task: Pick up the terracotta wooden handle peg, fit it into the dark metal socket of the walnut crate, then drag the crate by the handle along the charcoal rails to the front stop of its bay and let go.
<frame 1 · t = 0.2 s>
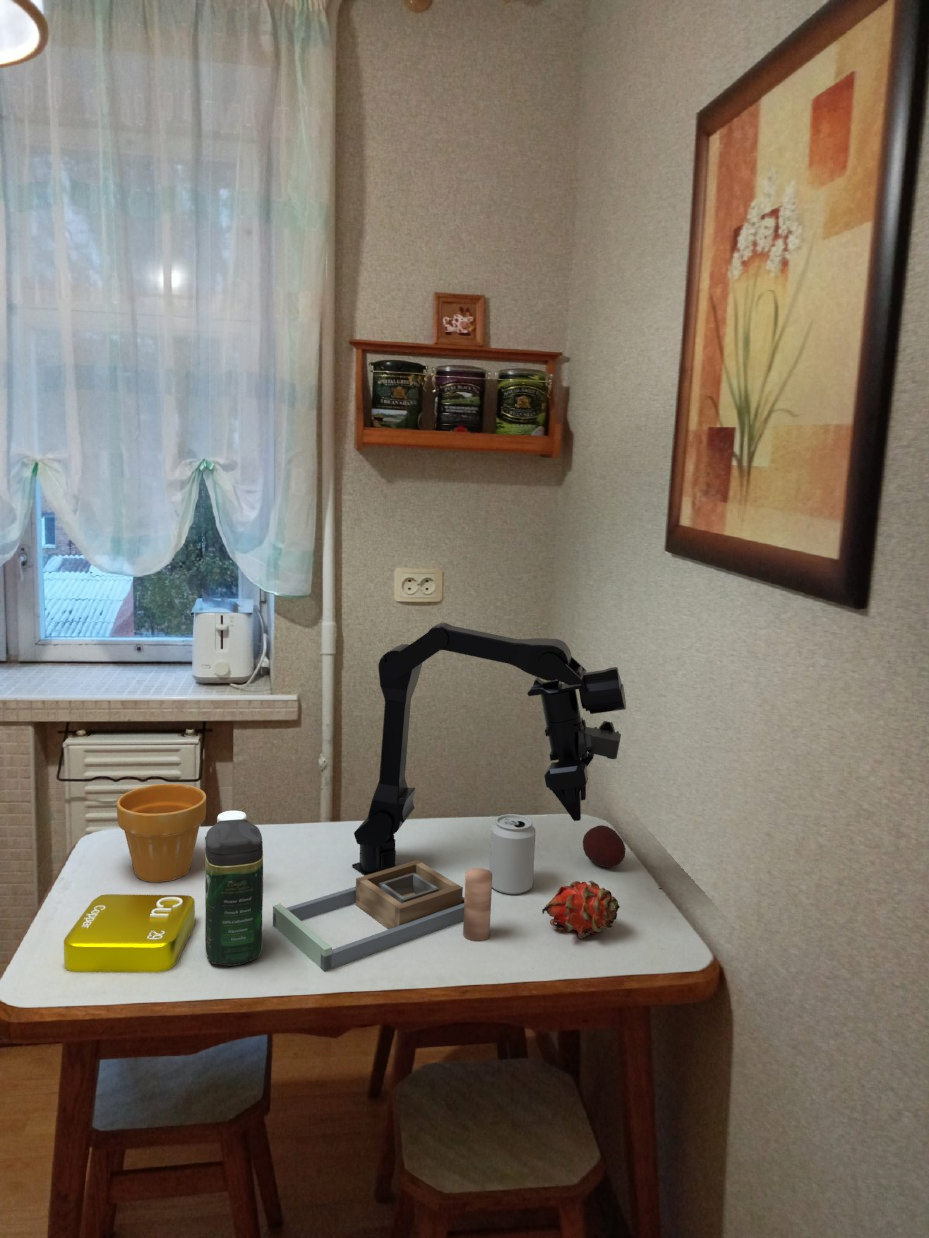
hand: (580, 809, 145), 15 cm above the table, tool pointing down, fingers open, 9 cm apart
dragon fruit: (579, 932, 137), on the table
handle peg: (476, 936, 134), on the table
element tile: (132, 947, 128), on the table
crate: (408, 896, 140), point 3 cm above the table, slide at 0.0 cm
can: (510, 888, 150), on the table
passion fruit: (603, 865, 161), on the table
bay: (374, 922, 137), on the table
green labelled bottle: (234, 951, 128), on the table
flower pot: (163, 872, 151), on the table
sprinkles bottle: (232, 894, 144), on the table
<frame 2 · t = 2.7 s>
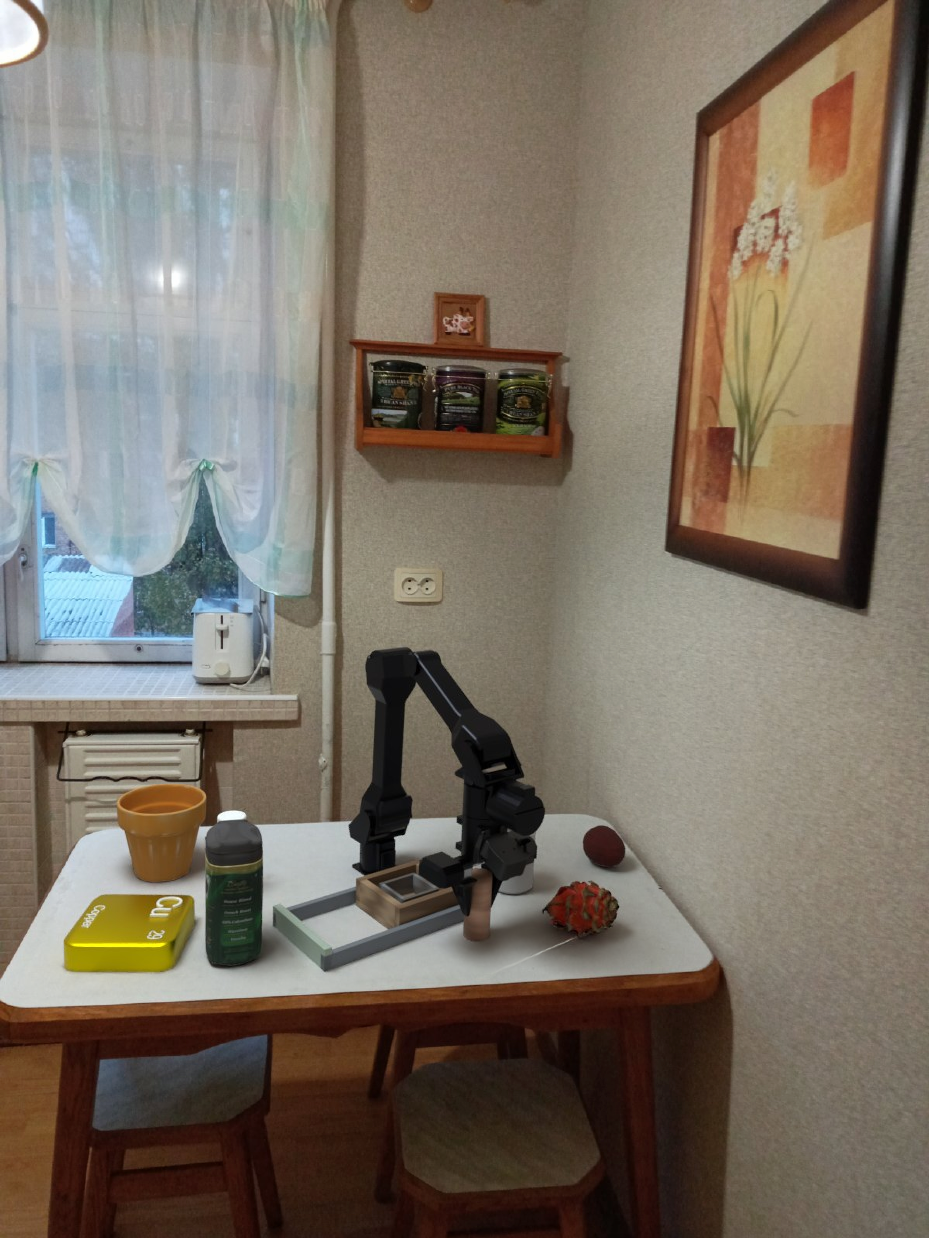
hand: (477, 911, 133), 4 cm above the table, tool pointing down, fingers closed on handle peg, 4 cm apart
handle peg: (476, 936, 134), on the table, touching gripper
everything else where it was.
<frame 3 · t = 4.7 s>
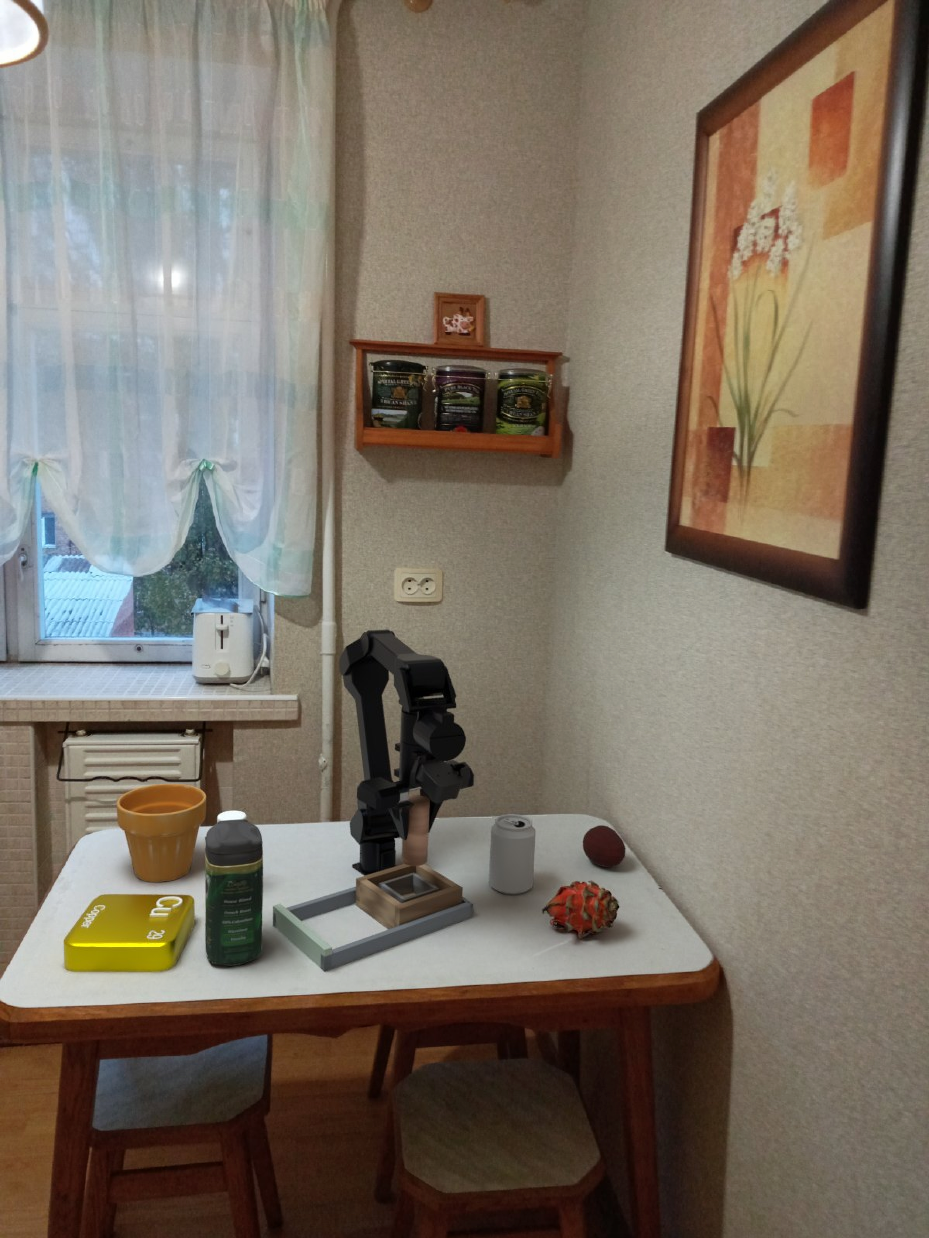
hand: (415, 835, 138), 13 cm above the table, tool pointing down, fingers closed on handle peg, 4 cm apart
handle peg: (414, 860, 139), point 9 cm above the table, touching gripper
everything else where it was.
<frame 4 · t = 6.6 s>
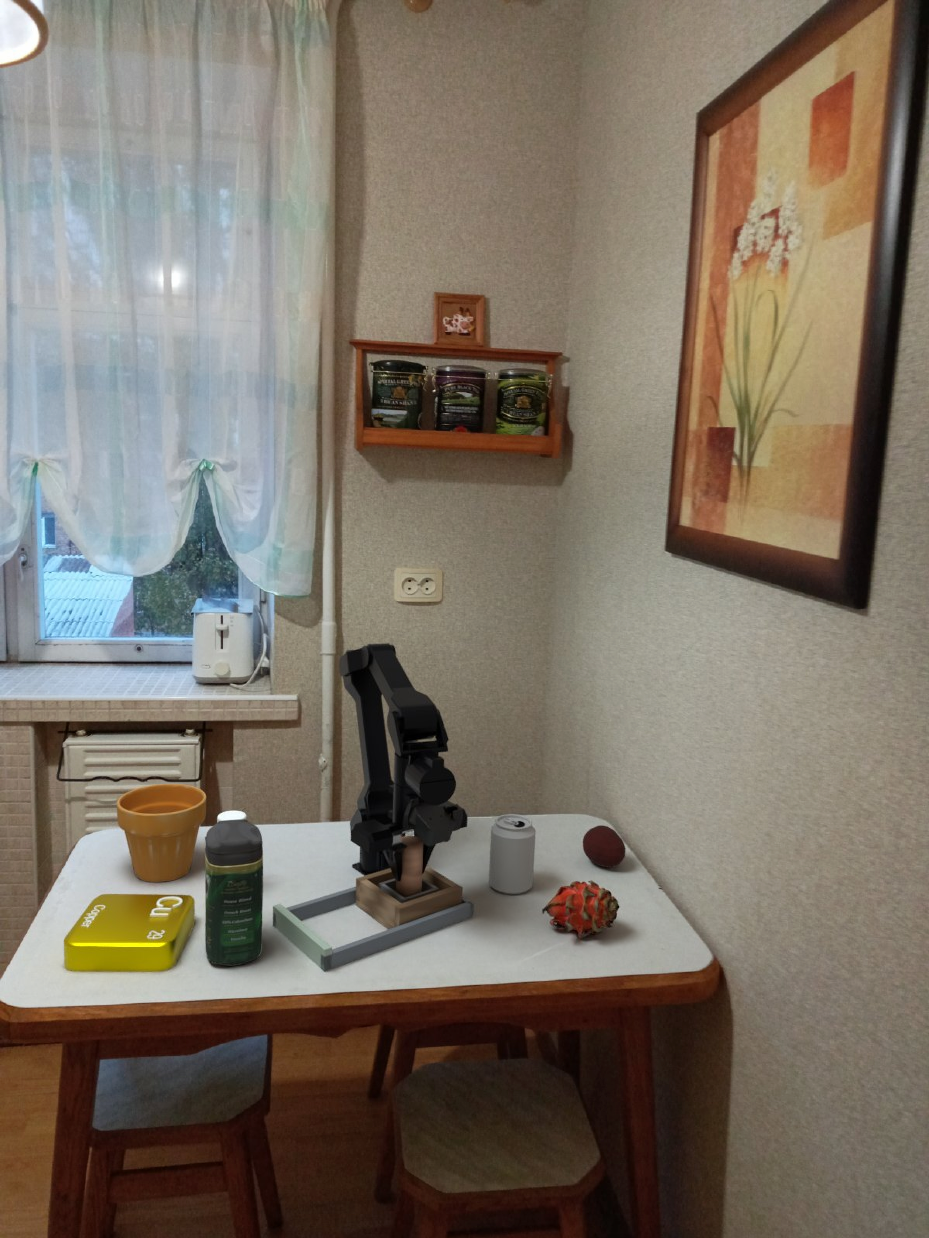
hand: (409, 876, 140), 6 cm above the table, tool pointing down, fingers closed on handle peg, 4 cm apart
handle peg: (408, 900, 140), point 2 cm above the table, touching gripper
everything else where it was.
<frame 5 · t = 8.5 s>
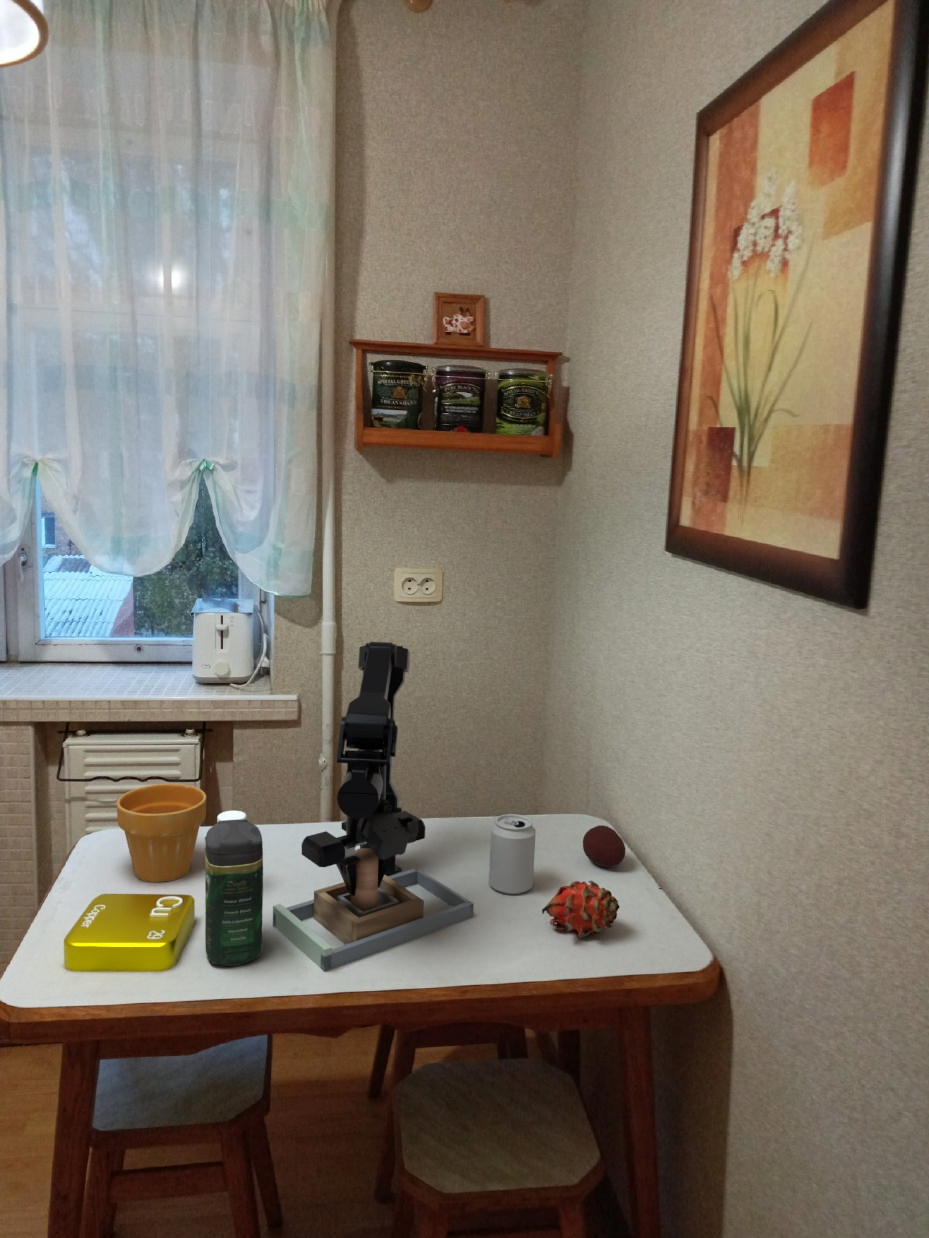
hand: (364, 890, 134), 6 cm above the table, tool pointing down, fingers closed on handle peg, 4 cm apart
handle peg: (364, 915, 135), point 2 cm above the table, touching crate, gripper
crate: (368, 909, 136), point 3 cm above the table, slide at 7.6 cm, touching handle peg
everything else where it was.
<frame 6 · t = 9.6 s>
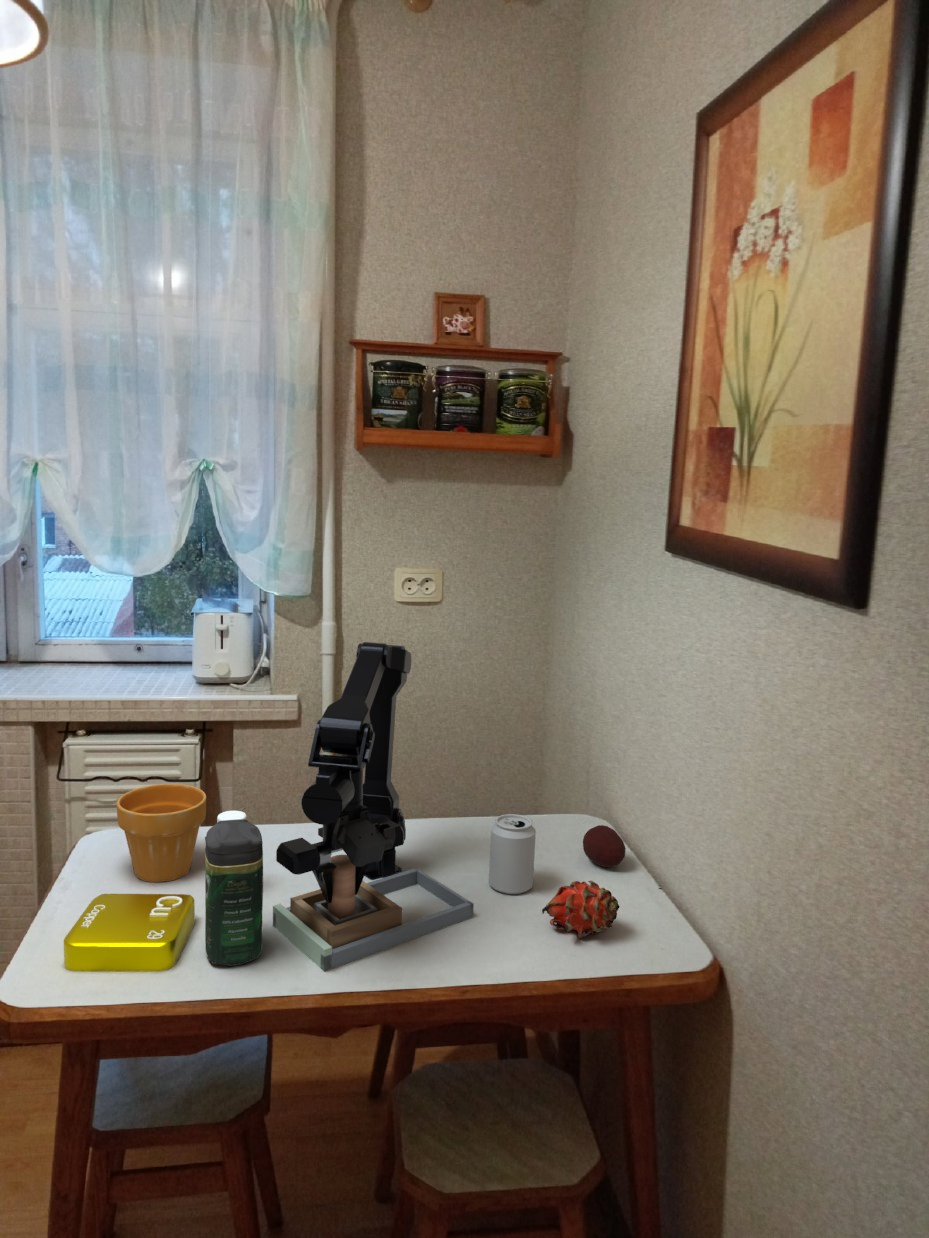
hand: (341, 898, 132), 6 cm above the table, tool pointing down, fingers closed on handle peg, 4 cm apart
handle peg: (341, 923, 133), point 2 cm above the table, touching crate, gripper
crate: (345, 916, 133), point 3 cm above the table, slide at 11.5 cm, touching handle peg
everything else where it was.
when the fingers open (6 cm above the table, at t = 10.6 s): handle peg stays where it is, resting on crate.
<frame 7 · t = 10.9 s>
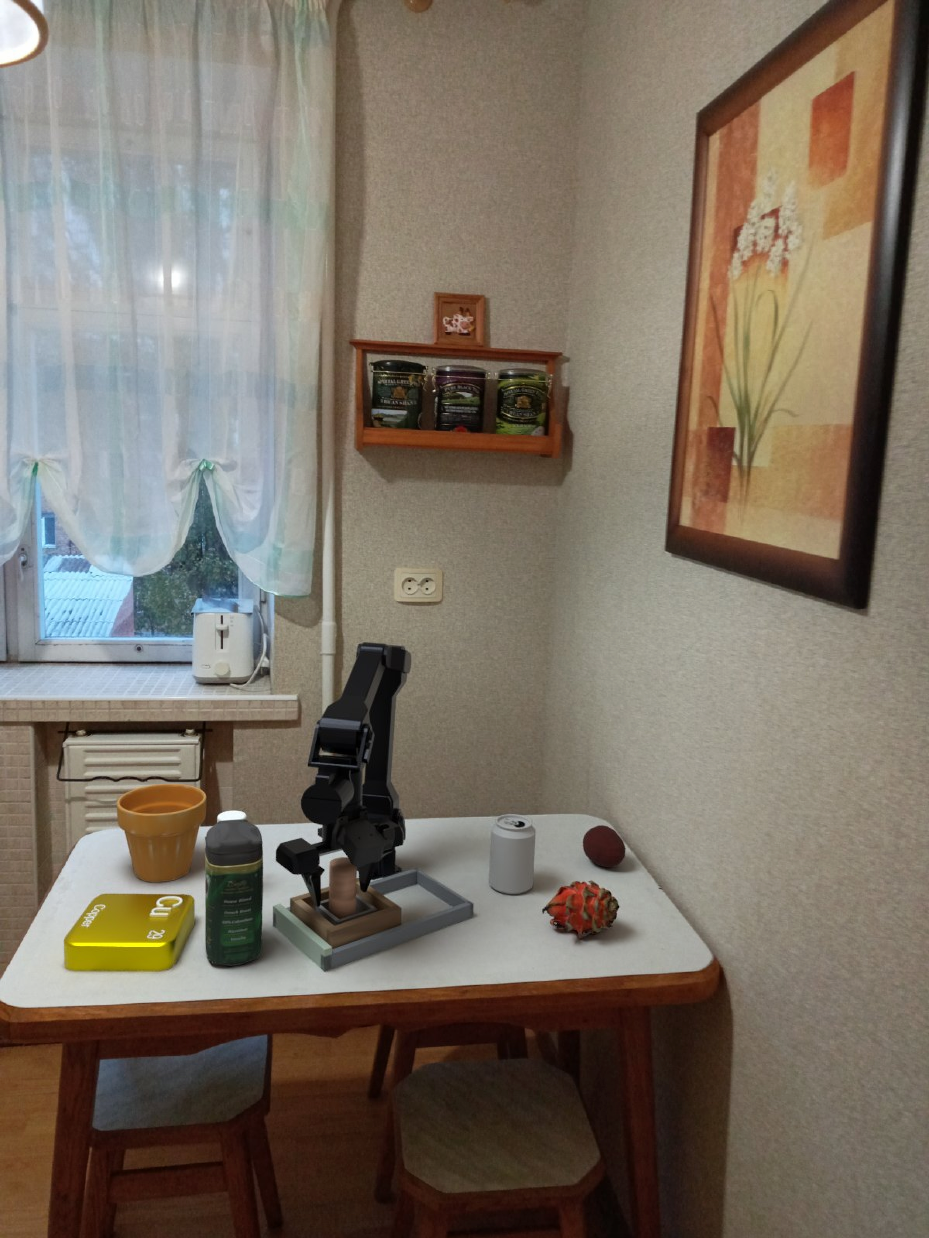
hand: (340, 898, 132), 6 cm above the table, tool pointing down, fingers open, 8 cm apart
handle peg: (342, 926, 133), point 1 cm above the table, touching crate
everything else where it was.
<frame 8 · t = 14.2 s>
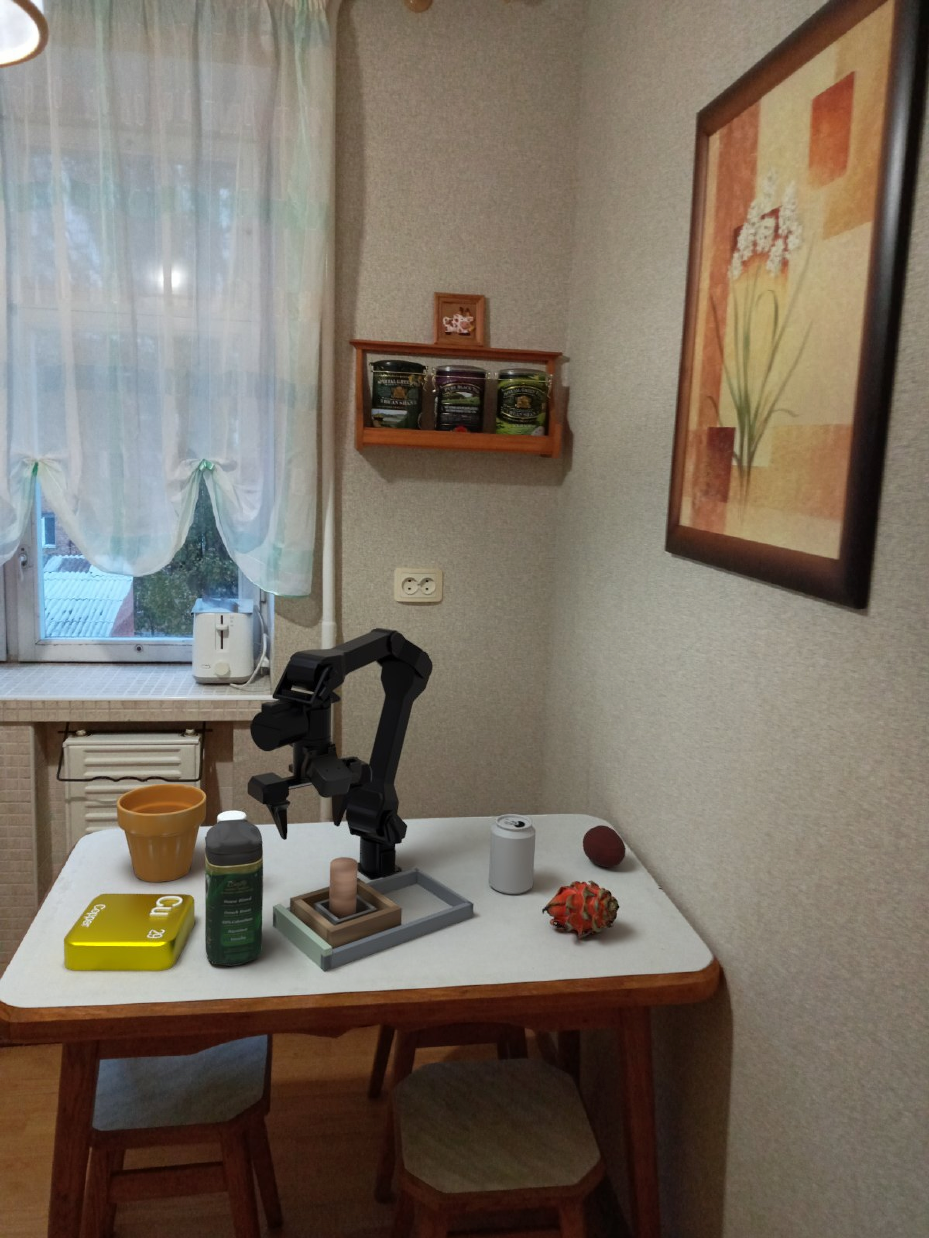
hand: (310, 832, 138), 13 cm above the table, tool pointing down, fingers open, 9 cm apart
nothing on the table moved.
at the end: crate slide at 11.6 cm; handle peg 0.6 cm off-centre on the crate, point 1.0 cm above the crate's base; handle peg tilted 1° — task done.
